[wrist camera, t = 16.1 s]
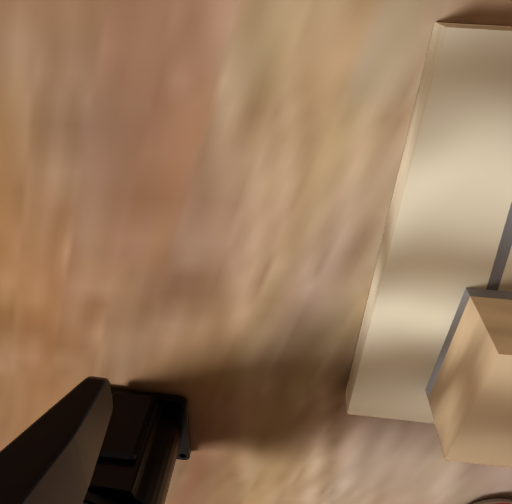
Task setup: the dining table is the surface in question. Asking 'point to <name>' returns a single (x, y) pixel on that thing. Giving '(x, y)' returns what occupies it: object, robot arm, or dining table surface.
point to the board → (440, 220)
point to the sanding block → (475, 381)
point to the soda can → (495, 501)
